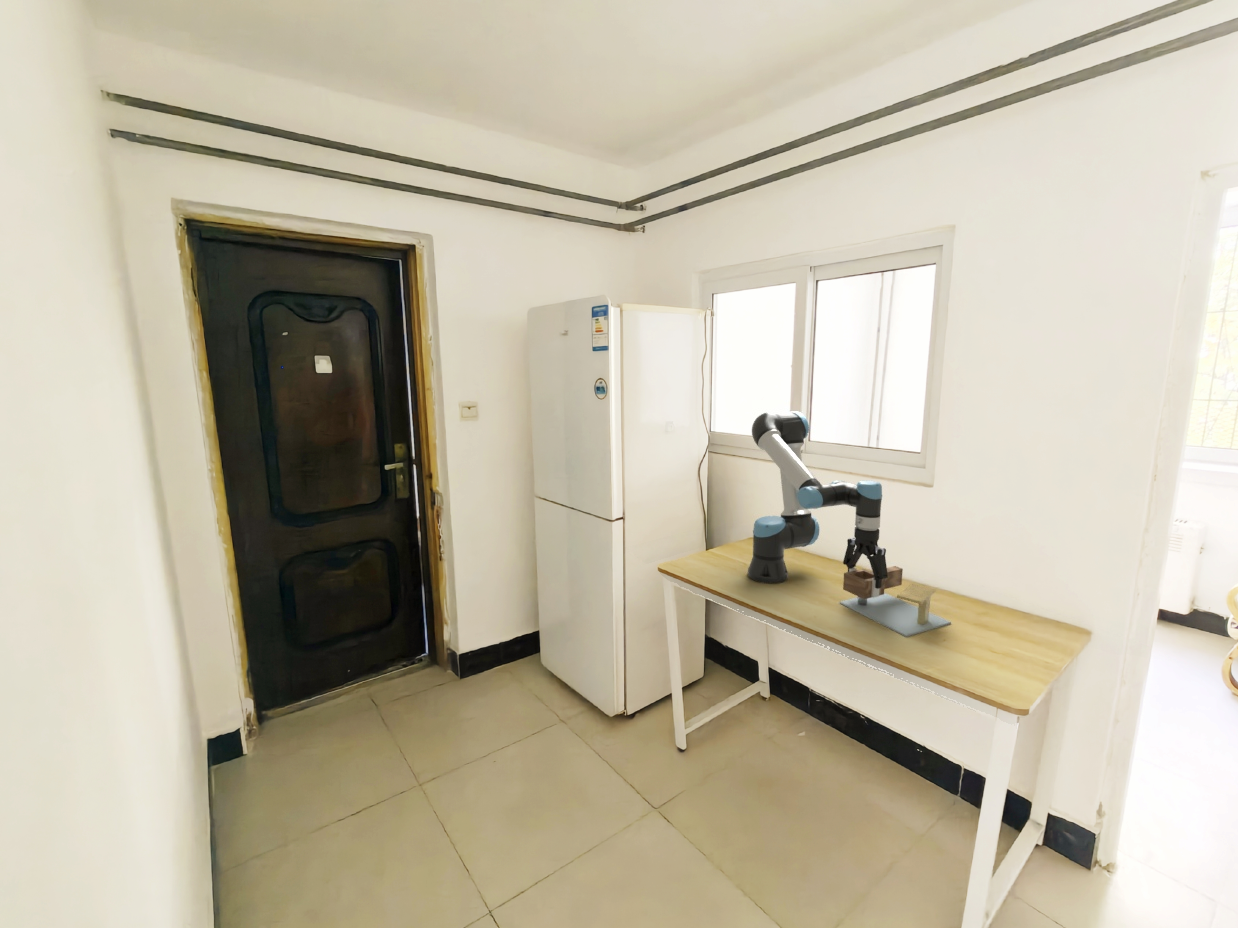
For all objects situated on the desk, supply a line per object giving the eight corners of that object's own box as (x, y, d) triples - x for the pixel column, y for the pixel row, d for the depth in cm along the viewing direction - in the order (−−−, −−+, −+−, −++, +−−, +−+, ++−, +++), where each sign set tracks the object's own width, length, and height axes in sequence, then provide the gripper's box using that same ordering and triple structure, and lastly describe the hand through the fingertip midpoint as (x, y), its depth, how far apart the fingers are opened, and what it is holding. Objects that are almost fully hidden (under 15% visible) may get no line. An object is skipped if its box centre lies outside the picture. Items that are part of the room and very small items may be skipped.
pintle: (855, 604, 183) (856, 581, 181) (861, 602, 184) (863, 579, 182) (862, 607, 180) (863, 584, 178) (868, 606, 181) (870, 582, 180)
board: (839, 603, 184) (839, 601, 184) (881, 592, 192) (881, 591, 191) (906, 636, 160) (906, 634, 160) (950, 623, 168) (950, 621, 168)
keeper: (894, 624, 168) (897, 595, 166) (909, 611, 177) (911, 583, 175) (918, 631, 163) (921, 601, 161) (932, 618, 172) (935, 589, 170)
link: (864, 599, 175) (865, 581, 174) (843, 589, 183) (843, 572, 182) (909, 588, 183) (910, 571, 182) (886, 579, 191) (887, 563, 190)
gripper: (833, 521, 185) (830, 582, 189) (886, 537, 166) (882, 605, 169) (849, 518, 188) (846, 578, 192) (903, 534, 169) (899, 601, 172)
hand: (863, 591), depth 181 cm, fingers closed on link, 9 cm apart
